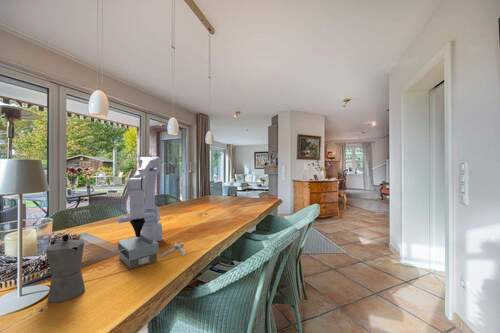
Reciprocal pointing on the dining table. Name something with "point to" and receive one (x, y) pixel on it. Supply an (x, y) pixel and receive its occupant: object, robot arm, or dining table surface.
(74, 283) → the coffeepot
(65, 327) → the dining table surface
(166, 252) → the hammer
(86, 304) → the dining table surface
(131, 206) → the robot arm
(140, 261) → the housing
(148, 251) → the lid
